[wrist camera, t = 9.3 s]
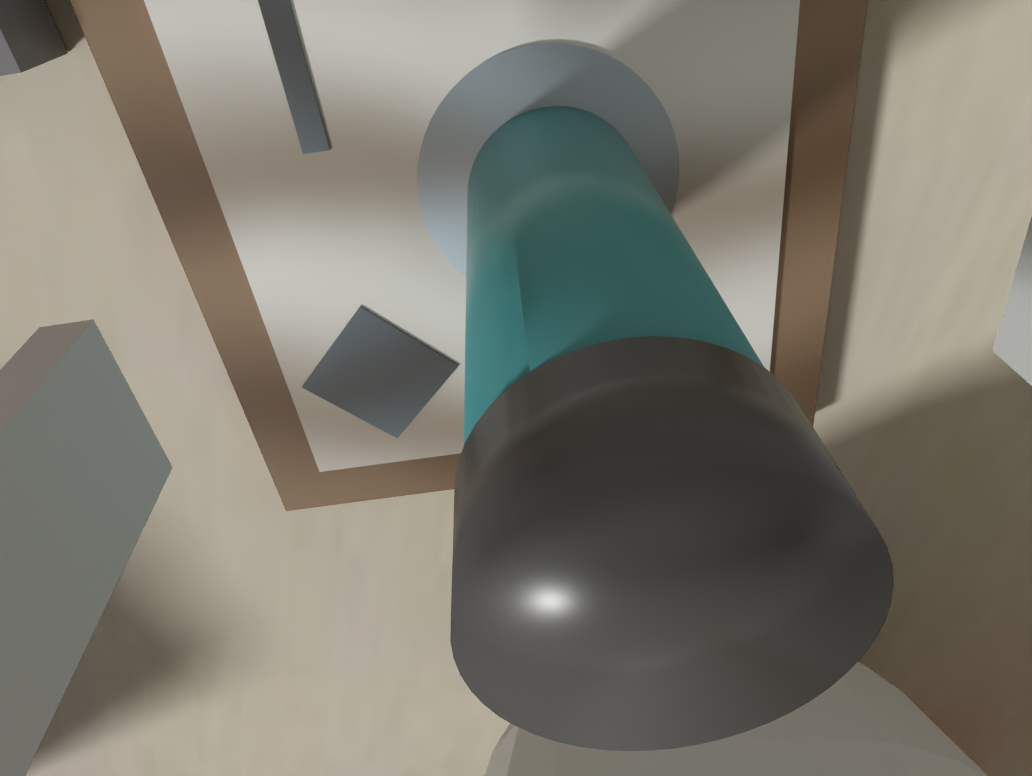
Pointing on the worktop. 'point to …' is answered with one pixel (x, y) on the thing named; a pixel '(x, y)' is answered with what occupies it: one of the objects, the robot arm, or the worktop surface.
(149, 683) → the worktop surface
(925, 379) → the worktop surface
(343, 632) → the worktop surface
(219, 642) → the worktop surface
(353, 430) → the board
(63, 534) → the robot arm
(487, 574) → the marker
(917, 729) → the vase
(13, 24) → the button housing
